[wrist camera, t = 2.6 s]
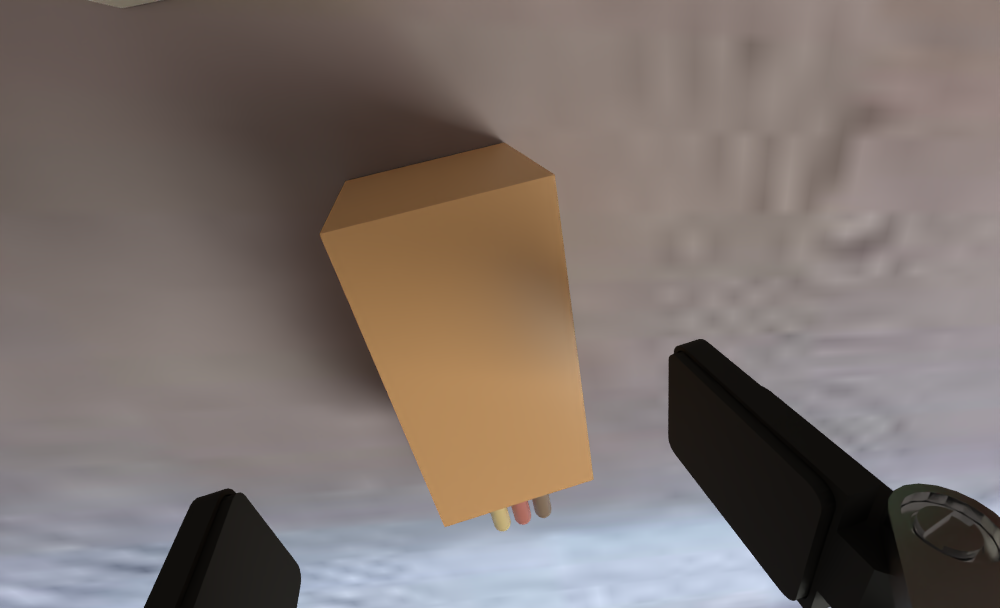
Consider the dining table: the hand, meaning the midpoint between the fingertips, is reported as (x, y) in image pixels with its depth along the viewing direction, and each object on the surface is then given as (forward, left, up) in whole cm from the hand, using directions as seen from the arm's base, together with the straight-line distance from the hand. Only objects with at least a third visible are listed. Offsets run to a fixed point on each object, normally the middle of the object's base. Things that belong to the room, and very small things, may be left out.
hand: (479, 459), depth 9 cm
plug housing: (-1, +2, -7) cm, 8 cm away
